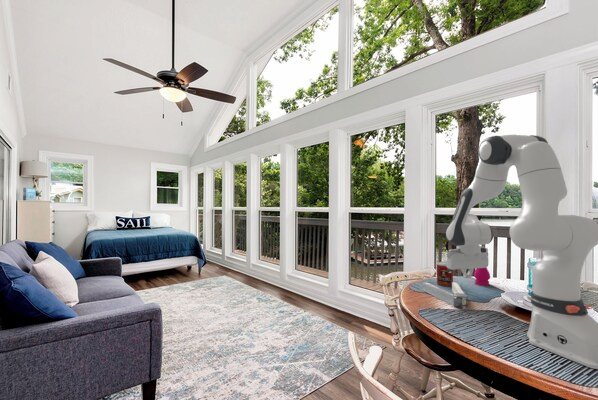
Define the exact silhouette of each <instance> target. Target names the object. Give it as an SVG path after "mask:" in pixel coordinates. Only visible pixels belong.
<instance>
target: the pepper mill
mask: <svg viewBox="0 0 598 400" xmlns="http://www.w3.org/2000/svg"><path fill="white" fill-rule="evenodd" d="M480 246H481V247H483V246H482V245H480ZM487 254H488V255H489V251H488V252H487ZM473 276H474V279H475V280H474V284H475V285H478V286H483V287H488V286H489V285H490V281H489V280H490V279H491V275H490V271H489V270H488V267H487V268H475V269H474V271H473Z"/></svg>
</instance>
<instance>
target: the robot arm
mask: <svg viewBox="0 0 598 400" xmlns="http://www.w3.org/2000/svg"><path fill="white" fill-rule="evenodd" d="M478 156H479V157H478V158H479V160H478V162H477V166H476V169H475V174H474V176H473V180H472V182H470V184H469V186H468V187H466V188H465V189H464V190H463V191H462V193H461V194H460V197H459V200H458V203H457V205H456V208H455V210H454V212H453V215H452V218H451V221H450V222H449V224H448V226H447V228H446V230H445V237H446V240H447V241H448V242H449V243H450V244H452V245H453V246H456V248H454V249H453V248H450V249H449V250H448V251H447V253H446V261H445V262H446V267H447V268H449V269H451V270H453V271H454V270H460V271H461V273H462V276H463V278H464V279H471V278H472V274H474V272H475V269H476V268H487V269H488V266H489V249H488V247H485V245H489V244H491V242H492V241H493V239H494V229H493V227H492V226H490V224H488V223H485V222H483V221H481V220H479V218H478V216H477V215H476V214H472V213H470V212H471V210H472V209H473V208H474V206H476V205H478V204H480V203H482V202H485V201H488V200H491V199H494V198H496V197H498V196H499V195H501V194H502V193H503V192H504V189H505V187H506V185H507V179H508V176H509V170H510V168H511V167H512V166H514V167H515V169H516V174H517V178H518V182H519V187H520V193H521V199H522V203H521V208H520V213H519V215H518V216H517V217H516V219H515V220H514V221H513V222H512V223H511V224H510V226H509V237H510V240H511V241H512V243H513V244H514V245H515V246H516V247H518V248H520V249H523V250H528V251H533V252H544V255H543V257H542V258H541V260H540V261H539V262H537V263H535V264H534V265H533V267H532V269H531V270H532V271H531V276H532V277H531V279H532V280H531V282H532V290H531V292H530V303H531V304H532V305H531V306H532V309H531V317H530V323H529V327H528V330H527V332H526V335H527V338H528V343H529V344H530V345H534V346H536V347H538V348H540V349H543V350H545V351H547V352H550V353H552V354H555V355H558V356H560V357H562V358H565V359H567V360H570V361H572V362H575V363H578V364H580V365H582V366H585V367H587V368H591V369H596V370H598V322H597V321H596V320H595V319H594V318H593V317H592V316H591V315H589V311H588V310H592V308H593V307H592V305H591V304H586V305H585V303H584V300H583V299H582V298H581V280H582V279H581V278H582V277H581V276H582V270H583V267H584V264H585V262H586V259H587V258H588V256H589V254H590V252H591V250H593V249H594V248H595V247H596V246H598V222H597V221H595V220H594V219H592V218H589V217H584V216H581V215H573V214H567V215H566V214H563V215H562V214H559V205H560V202H561V201H562V200H564V199H565V198H566V196H567V195H568V188H567V186H566V185H567V184H566V181H565V178H564V174H563V171H562V168H561V164H560V162H559V159H558V157H557V155H556V153H555V151H554V149H553V148H552V146H551V144H549V142H548V141H547V139H546V138H545V137H542V136H540V135H534V134H532V135H531V134H530V135H526V134H524V135H523V134H503V135H492V136H489V137H485V138H484V139H483V140H482V142H481V143H480V144H479V147H478ZM482 245H484V246H482ZM481 246H482V247H481ZM487 252H488V254H487ZM591 307H592V308H591Z"/></svg>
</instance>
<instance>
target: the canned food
mask: <svg viewBox="0 0 598 400" xmlns="http://www.w3.org/2000/svg"><path fill="white" fill-rule="evenodd" d="M452 282H454V270H451V269H449V268H447V267H446V261H439V262H438V261H437V262H436V283H437V285H439V286H443V287H452Z"/></svg>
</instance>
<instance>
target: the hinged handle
mask: <svg viewBox="0 0 598 400" xmlns="http://www.w3.org/2000/svg"><path fill="white" fill-rule="evenodd" d="M451 291H452V294H455V296H456V297H460V298H462V306H466V305H467V300H466V299H468V295H467V294H466V293H465V292H464V291H463V289H462V288H461V287H460V285H459V284H458V283H457V282H454V281H453V282H452V286H451Z"/></svg>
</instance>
